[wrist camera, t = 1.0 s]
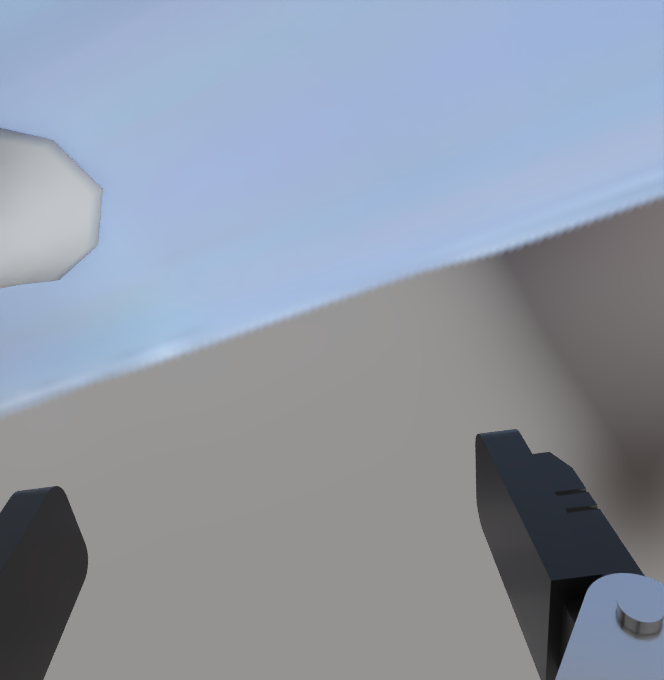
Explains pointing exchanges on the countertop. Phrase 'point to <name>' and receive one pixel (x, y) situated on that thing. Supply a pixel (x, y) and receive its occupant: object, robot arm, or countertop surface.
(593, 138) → the countertop surface
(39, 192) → the flask
